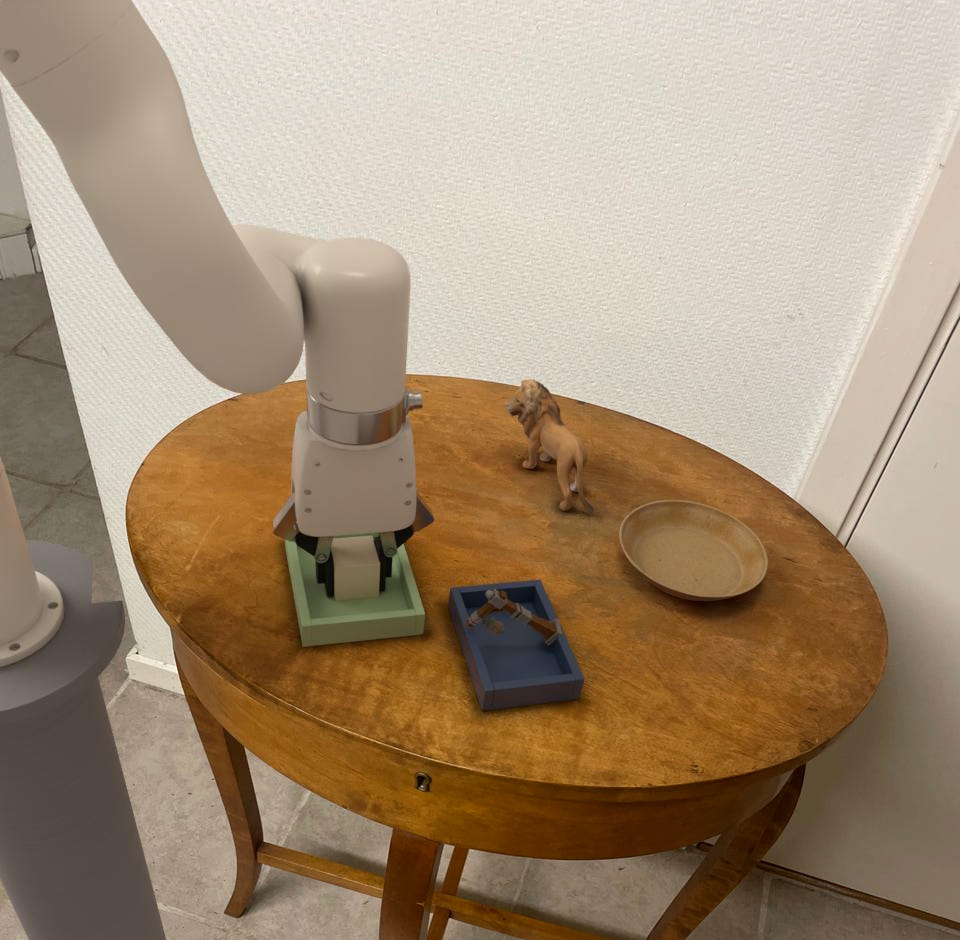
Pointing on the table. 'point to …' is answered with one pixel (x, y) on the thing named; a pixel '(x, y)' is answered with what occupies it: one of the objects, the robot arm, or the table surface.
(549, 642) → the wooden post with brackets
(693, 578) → the plant saucer
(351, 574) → the cream block
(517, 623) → the slate tray
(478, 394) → the table surface
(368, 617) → the sage tray
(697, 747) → the table surface
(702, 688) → the table surface
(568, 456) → the lion figurine
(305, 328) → the robot arm
